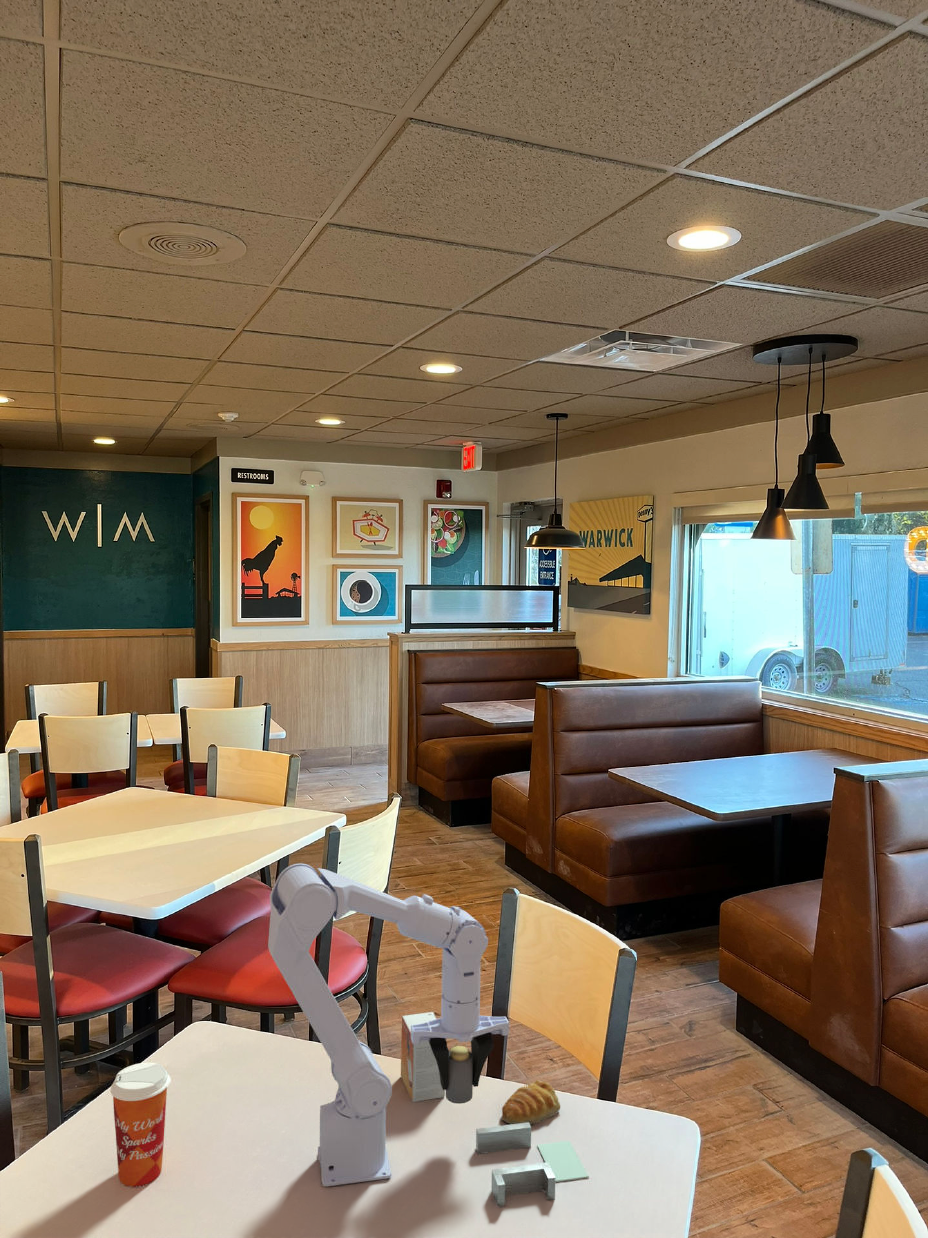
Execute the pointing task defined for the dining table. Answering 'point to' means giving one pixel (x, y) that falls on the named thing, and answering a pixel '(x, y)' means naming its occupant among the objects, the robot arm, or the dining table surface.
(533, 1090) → the pastry
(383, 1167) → the robot arm
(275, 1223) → the dining table surface
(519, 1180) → the metal brackets
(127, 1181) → the paper cup
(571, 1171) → the mat
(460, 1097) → the grey canister
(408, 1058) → the small box
